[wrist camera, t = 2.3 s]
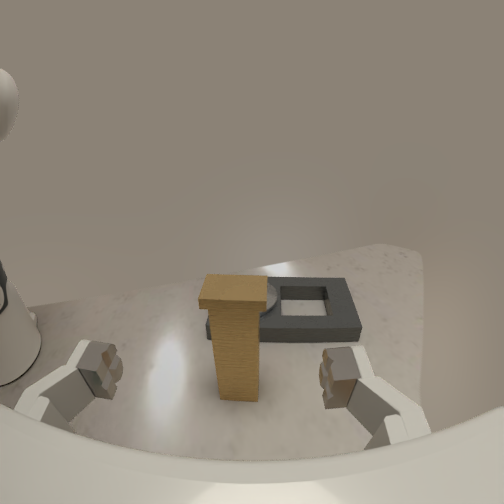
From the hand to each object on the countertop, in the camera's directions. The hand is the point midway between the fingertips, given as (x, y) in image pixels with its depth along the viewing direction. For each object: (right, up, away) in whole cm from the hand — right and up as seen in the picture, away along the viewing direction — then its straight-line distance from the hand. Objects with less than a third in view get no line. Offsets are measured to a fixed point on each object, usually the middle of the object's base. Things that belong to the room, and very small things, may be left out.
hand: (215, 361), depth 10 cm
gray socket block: (+6, -5, +32) cm, 32 cm away
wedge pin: (0, -11, +19) cm, 22 cm away
